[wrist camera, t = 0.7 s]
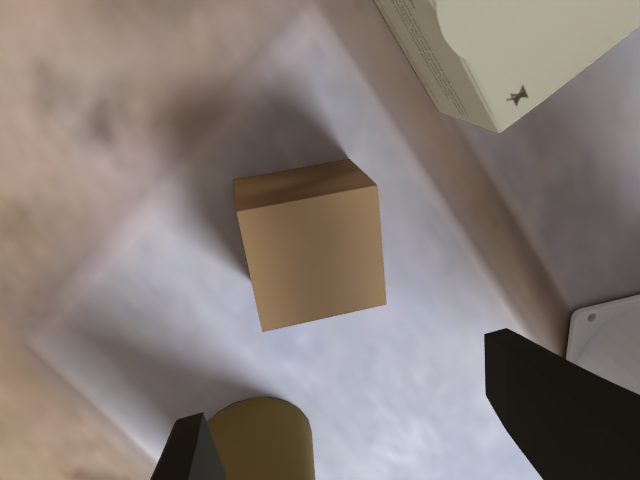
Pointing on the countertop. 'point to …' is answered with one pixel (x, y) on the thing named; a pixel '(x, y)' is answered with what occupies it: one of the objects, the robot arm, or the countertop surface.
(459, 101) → the small box
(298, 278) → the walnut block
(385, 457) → the countertop surface
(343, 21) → the countertop surface
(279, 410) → the cork
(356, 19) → the countertop surface
